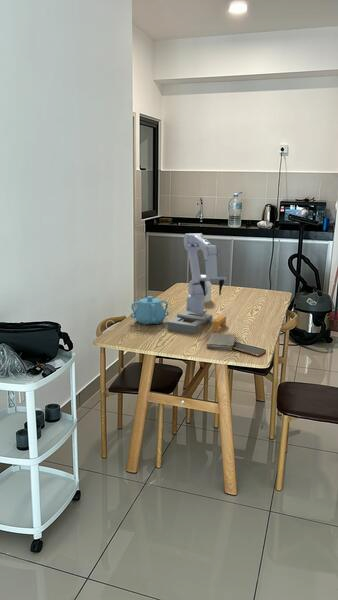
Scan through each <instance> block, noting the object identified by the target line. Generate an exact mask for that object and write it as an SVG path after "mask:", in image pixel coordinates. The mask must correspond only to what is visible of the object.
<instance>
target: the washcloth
mask: <svg viewBox="0 0 338 600" xmlns="http://www.w3.org/2000/svg"><path fill="white" fill-rule="evenodd" d="M235 341H236V334H233V333H232V334H231V333H216V332H215V333H214V332H212V333H210V335H209V338H208V341H207V343H206V349H211V350H217V351H218V350H220V351H228V352H229V351H232V350H233V349H232V346H233V345H234V346H235Z"/></svg>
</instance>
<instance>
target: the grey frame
mask: <svg viewBox="0 0 338 600" xmlns="http://www.w3.org/2000/svg"><path fill="white" fill-rule="evenodd" d="M182 320H183V321H182ZM186 321H190V322H186ZM212 321H213V314H209V313H196V312H189V311H186V310H185V311H183V312H181V313H179V312H178V313H177V314H176V316H175V317H173V318H171V319H170V320H168V321H167V322H166V324H167V325H166V331H167V330H169V331H172V332H180V333H187V334H191V335H196V334H197V333H198V332H199V330H198V329H199V327H200V326H201V325H203V324H209V325H211V324H212V323H211V322H212Z"/></svg>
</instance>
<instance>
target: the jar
mask: <svg viewBox="0 0 338 600" xmlns="http://www.w3.org/2000/svg"><path fill="white" fill-rule="evenodd" d="M201 278H206V274H201ZM208 280H210V279H208ZM206 284H207V286H208V293H207V295H206V296H205V297H204V303H209V302H211V301H212V282H211V281H206Z"/></svg>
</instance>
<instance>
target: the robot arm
mask: <svg viewBox="0 0 338 600" xmlns="http://www.w3.org/2000/svg"><path fill="white" fill-rule="evenodd" d="M183 245H184V246H183V247H184V250H185V251H187V253H188V259H189V266H190V273H191V280H190V281H189V282H188V285H187V287H188V289H187V290H188V294H189V295H187V297H186V309H185V311H189V312H196V313H203V314H205V312H207V309H205V302H204V297H205V296H206V295H207V293H208V286H207V284H206V281H210V282H218V283H219V284H218V287H219V290H218V292H219V293H218V294H219V296H221V295H222V289H223V286H224V282H226V281H227V276H218V263H217V262H218V260H217V256H218V254H219V246H217V244H212V243H211V242H210V241H209V240H208V239H204V234H203V233H202V232H200V233H185V234H184V235H183ZM199 250H201V251H202V253H203V254H202V255H203V259H204V262H205V275H206V278H201V275H202V274H201V270H200V262H199V257H198V251H199ZM208 279H209V280H208Z"/></svg>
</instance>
